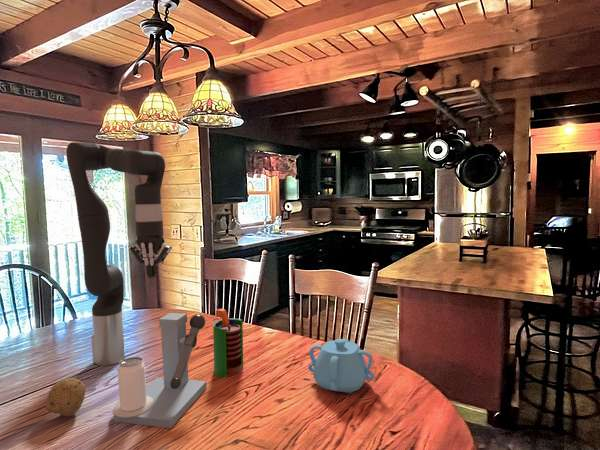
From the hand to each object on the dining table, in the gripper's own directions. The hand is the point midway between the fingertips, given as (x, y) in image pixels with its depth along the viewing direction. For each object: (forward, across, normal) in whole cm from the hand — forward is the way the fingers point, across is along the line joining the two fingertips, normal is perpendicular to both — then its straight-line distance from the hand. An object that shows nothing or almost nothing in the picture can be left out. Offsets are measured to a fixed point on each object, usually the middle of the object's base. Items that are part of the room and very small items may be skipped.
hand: (152, 277), depth 116 cm
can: (+31, -3, +16) cm, 35 cm away
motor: (+33, -18, -12) cm, 40 cm away
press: (+33, -7, +10) cm, 35 cm away
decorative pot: (+33, -55, -9) cm, 65 cm away
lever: (+20, -14, +5) cm, 25 cm away
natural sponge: (+33, +14, +20) cm, 41 cm away
